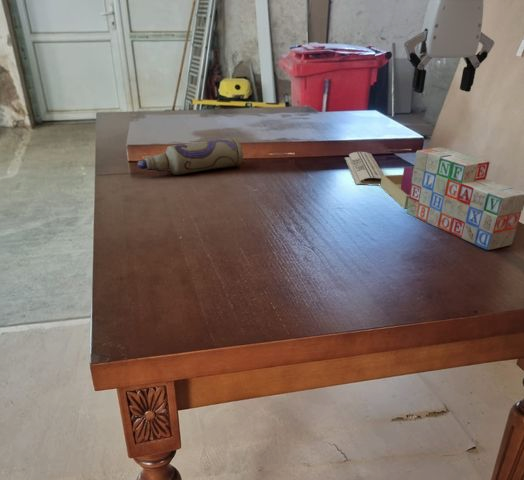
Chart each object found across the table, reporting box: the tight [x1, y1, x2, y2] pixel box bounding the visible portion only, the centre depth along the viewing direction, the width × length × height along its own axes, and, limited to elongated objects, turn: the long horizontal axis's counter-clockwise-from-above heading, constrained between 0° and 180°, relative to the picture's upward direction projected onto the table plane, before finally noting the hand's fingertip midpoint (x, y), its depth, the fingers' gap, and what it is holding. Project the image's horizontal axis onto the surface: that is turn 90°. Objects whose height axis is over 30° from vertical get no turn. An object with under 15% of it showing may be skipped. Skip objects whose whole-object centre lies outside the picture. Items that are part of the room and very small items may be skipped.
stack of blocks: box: [406, 146, 524, 251], centre depth 95 cm, size 21×6×12 cm, turn 27°
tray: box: [379, 174, 410, 209], centre depth 114 cm, size 11×15×3 cm
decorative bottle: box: [136, 137, 244, 176], centre depth 125 cm, size 26×8×7 cm, turn 119°
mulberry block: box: [401, 166, 414, 195], centre depth 113 cm, size 5×5×5 cm
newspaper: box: [344, 151, 384, 186], centre depth 130 cm, size 24×7×2 cm, turn 179°
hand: (441, 91), depth 102 cm, fingers open, 9 cm apart
